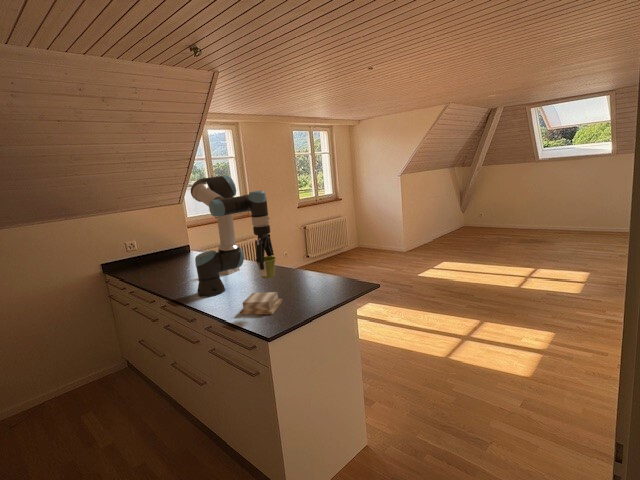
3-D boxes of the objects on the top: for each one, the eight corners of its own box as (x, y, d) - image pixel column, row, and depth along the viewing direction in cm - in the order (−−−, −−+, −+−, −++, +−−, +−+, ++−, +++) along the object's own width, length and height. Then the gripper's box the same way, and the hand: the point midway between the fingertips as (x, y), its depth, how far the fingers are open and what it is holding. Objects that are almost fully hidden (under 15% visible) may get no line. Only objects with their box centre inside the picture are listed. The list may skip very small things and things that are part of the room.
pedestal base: (240, 314, 170) (238, 303, 169) (252, 302, 186) (251, 291, 185) (272, 314, 167) (270, 303, 166) (282, 301, 182) (281, 290, 181)
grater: (239, 270, 250) (235, 242, 246) (228, 274, 242) (223, 245, 238) (229, 269, 256) (224, 241, 252) (217, 273, 247) (213, 245, 243)
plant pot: (258, 274, 174) (256, 257, 172) (278, 272, 175) (276, 255, 173) (257, 281, 165) (254, 262, 163) (277, 278, 165) (275, 260, 163)
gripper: (260, 229, 153) (267, 280, 158) (276, 220, 174) (281, 265, 179) (244, 230, 155) (251, 280, 159) (261, 221, 176) (267, 265, 180)
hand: (267, 272), depth 169 cm, fingers closed on plant pot, 9 cm apart
